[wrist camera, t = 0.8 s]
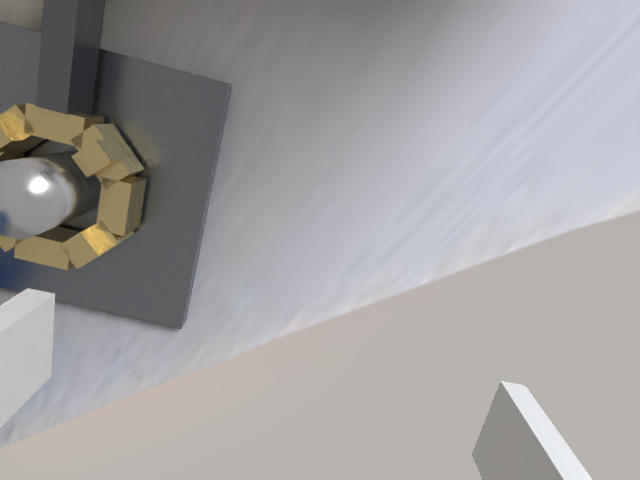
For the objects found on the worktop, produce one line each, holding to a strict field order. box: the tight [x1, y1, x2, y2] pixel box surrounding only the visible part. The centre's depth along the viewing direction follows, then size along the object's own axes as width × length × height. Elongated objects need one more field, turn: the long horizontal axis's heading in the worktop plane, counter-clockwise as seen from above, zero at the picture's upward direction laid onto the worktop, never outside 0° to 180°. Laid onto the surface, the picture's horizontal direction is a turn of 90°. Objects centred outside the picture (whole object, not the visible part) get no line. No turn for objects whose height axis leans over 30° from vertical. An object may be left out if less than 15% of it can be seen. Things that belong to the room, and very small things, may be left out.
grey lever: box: [0, 0, 147, 270], centre depth 30 cm, size 22×11×4 cm, turn 165°
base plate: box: [0, 22, 232, 329], centre depth 31 cm, size 20×20×8 cm
